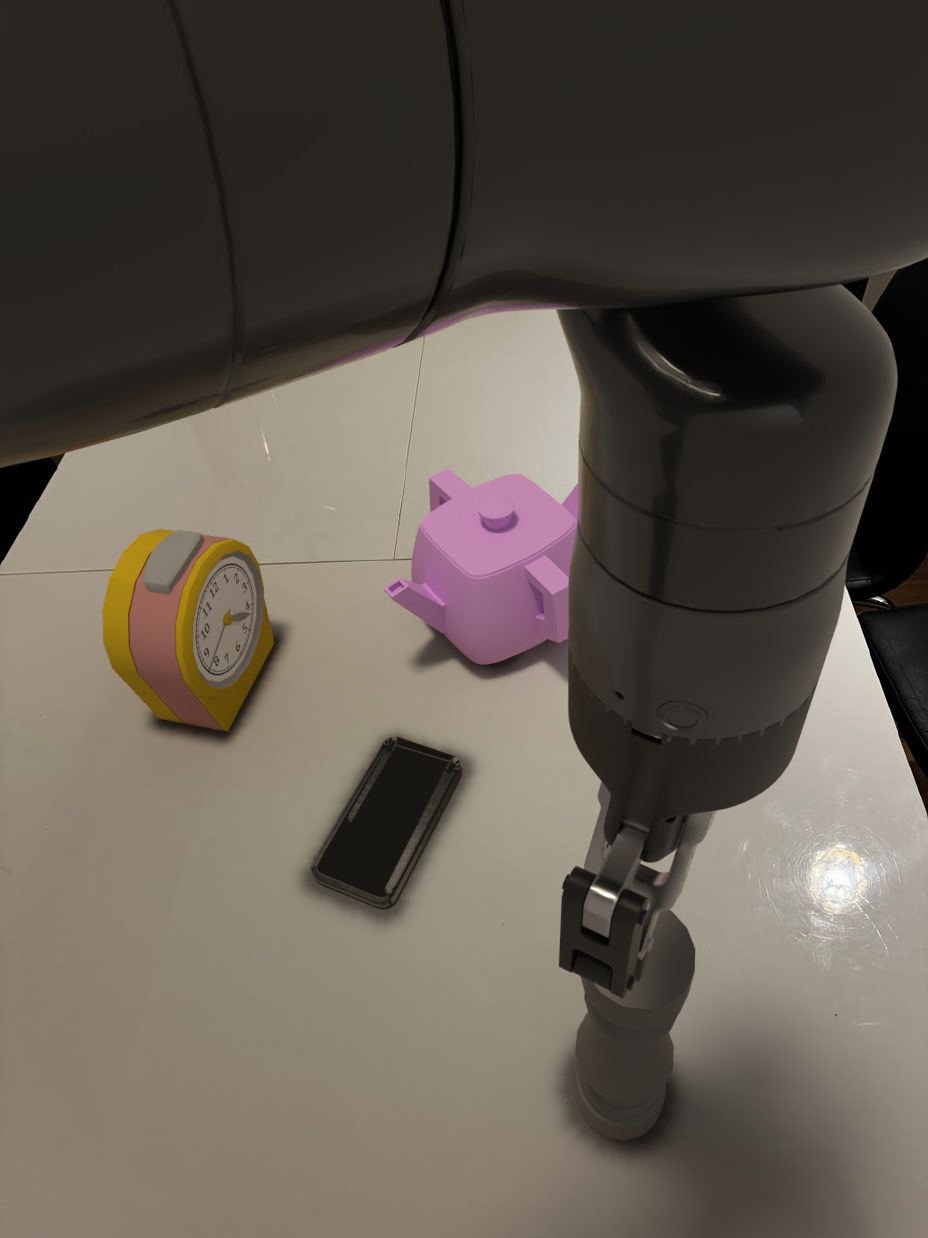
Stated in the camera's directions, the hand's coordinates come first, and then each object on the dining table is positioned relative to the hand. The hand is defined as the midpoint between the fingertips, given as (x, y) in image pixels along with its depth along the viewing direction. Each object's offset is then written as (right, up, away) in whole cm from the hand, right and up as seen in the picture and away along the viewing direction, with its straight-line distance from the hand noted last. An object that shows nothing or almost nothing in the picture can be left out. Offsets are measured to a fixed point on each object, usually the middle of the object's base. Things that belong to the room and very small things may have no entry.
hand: (655, 877), depth 39 cm
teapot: (-4, +12, +56) cm, 57 cm away
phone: (-15, -7, +41) cm, 44 cm away
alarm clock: (-33, +5, +53) cm, 63 cm away
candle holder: (+3, -22, +25) cm, 34 cm away
